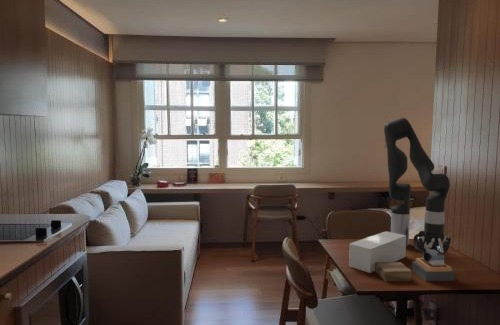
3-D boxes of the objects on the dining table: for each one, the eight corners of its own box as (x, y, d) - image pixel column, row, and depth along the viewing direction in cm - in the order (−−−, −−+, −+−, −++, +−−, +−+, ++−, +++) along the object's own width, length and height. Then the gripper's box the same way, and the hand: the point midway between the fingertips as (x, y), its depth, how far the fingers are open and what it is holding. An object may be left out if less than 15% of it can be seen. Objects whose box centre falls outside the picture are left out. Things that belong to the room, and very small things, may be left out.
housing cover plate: (432, 260, 153) (432, 255, 153) (422, 254, 161) (422, 249, 161) (444, 260, 153) (444, 255, 153) (433, 253, 161) (434, 249, 161)
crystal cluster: (444, 256, 184) (447, 236, 184) (414, 251, 188) (417, 231, 188) (439, 250, 197) (441, 231, 197) (411, 245, 201) (413, 227, 201)
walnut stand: (375, 271, 162) (375, 262, 162) (400, 270, 163) (400, 262, 162) (385, 281, 151) (385, 271, 151) (411, 280, 152) (412, 271, 151)
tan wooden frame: (412, 270, 163) (412, 258, 163) (438, 269, 164) (439, 257, 163) (425, 281, 151) (426, 268, 151) (454, 280, 152) (455, 267, 151)
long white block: (370, 273, 161) (370, 249, 160) (348, 266, 169) (349, 243, 168) (405, 257, 182) (406, 235, 181) (385, 251, 190) (385, 231, 189)
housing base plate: (431, 267, 153) (432, 260, 153) (422, 260, 161) (422, 254, 161) (443, 267, 153) (444, 260, 153) (433, 260, 161) (433, 253, 161)
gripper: (421, 223, 152) (420, 264, 153) (456, 223, 152) (454, 263, 154) (413, 219, 159) (412, 258, 161) (446, 219, 160) (444, 257, 161)
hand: (432, 260), depth 157 cm, fingers closed on housing base plate, housing cover plate, 5 cm apart
